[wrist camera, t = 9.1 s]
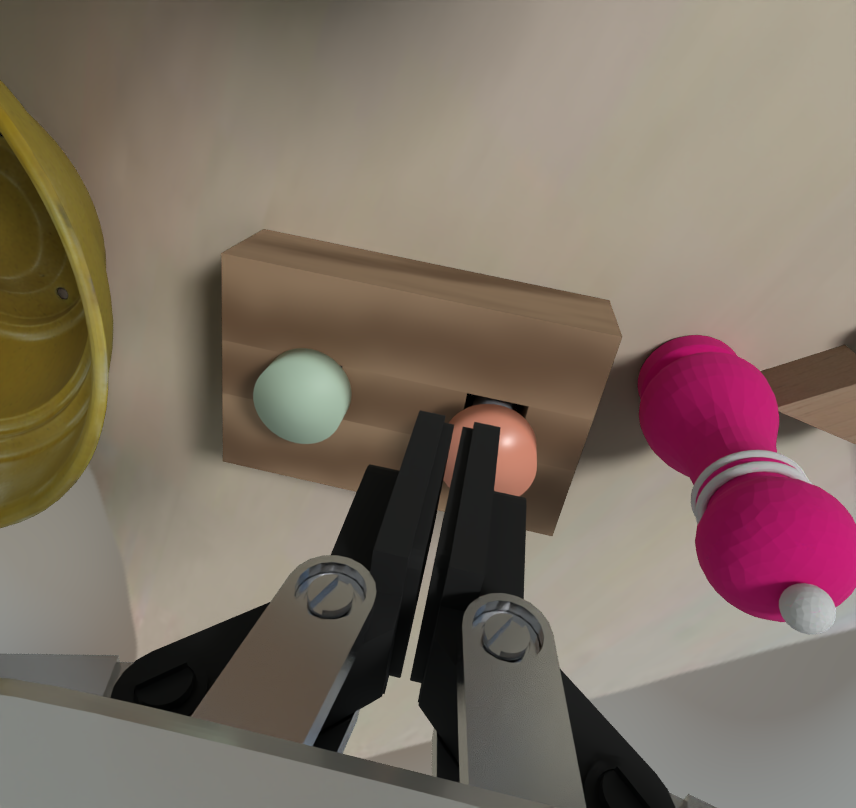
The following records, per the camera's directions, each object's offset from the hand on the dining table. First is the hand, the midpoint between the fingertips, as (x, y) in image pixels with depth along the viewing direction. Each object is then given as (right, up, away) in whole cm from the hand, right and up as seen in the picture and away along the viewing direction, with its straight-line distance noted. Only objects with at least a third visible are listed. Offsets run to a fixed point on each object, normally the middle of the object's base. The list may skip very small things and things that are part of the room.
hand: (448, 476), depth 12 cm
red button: (+4, +2, +26) cm, 26 cm away
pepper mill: (+16, +3, +26) cm, 31 cm away
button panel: (-1, +4, +28) cm, 29 cm away
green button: (-7, +5, +28) cm, 29 cm away
